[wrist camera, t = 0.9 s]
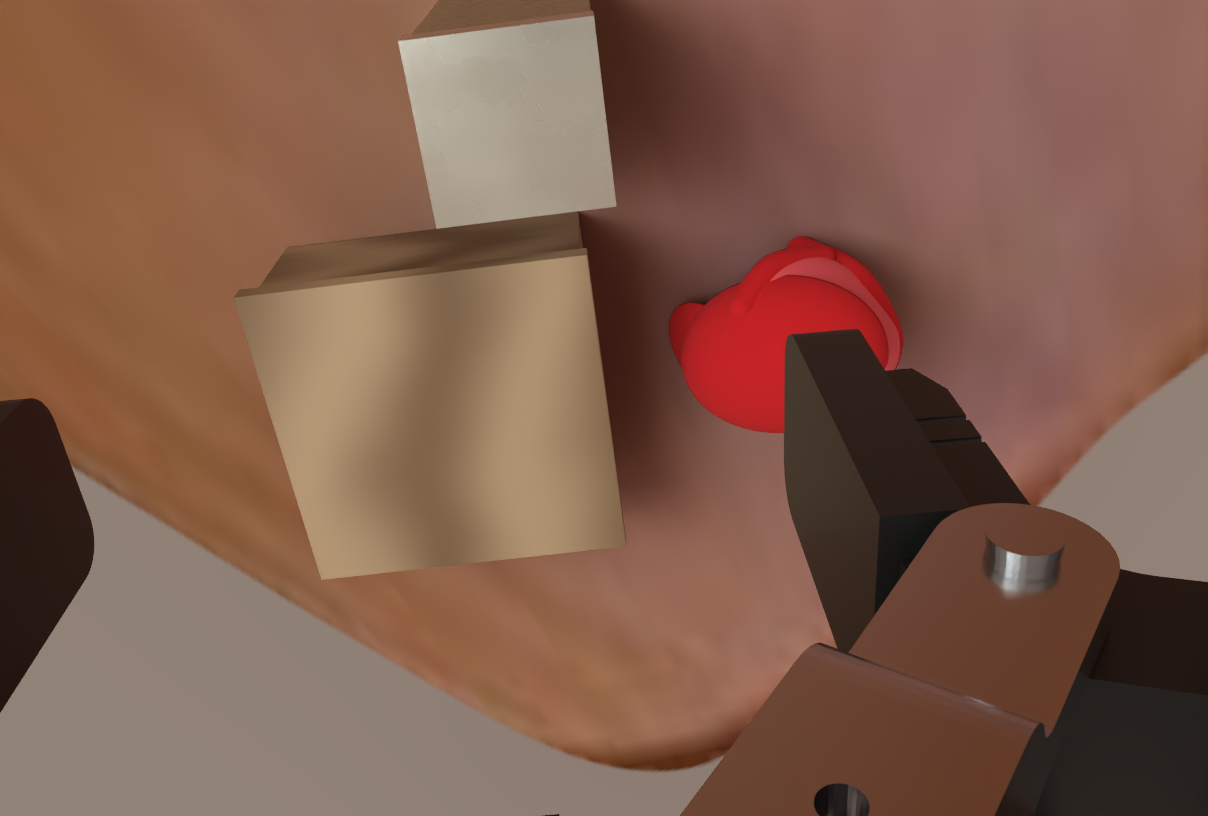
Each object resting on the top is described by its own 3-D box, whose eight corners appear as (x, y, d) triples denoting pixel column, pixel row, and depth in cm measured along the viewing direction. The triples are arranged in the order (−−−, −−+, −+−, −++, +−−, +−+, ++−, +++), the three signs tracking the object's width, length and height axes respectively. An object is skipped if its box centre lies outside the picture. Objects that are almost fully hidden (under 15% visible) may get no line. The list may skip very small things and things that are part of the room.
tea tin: (590, -27, 32) (593, 15, 25) (608, 128, 34) (616, 206, 27) (437, -6, 32) (397, 41, 25) (465, 146, 35) (436, 228, 28)
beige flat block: (585, 202, 36) (586, 255, 31) (621, 468, 41) (625, 546, 36) (275, 240, 36) (233, 297, 32) (349, 499, 41) (321, 579, 37)
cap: (899, 206, 33) (746, 267, 30) (955, 388, 33) (811, 461, 31) (754, 247, 40) (620, 298, 37) (803, 395, 41) (676, 455, 38)
